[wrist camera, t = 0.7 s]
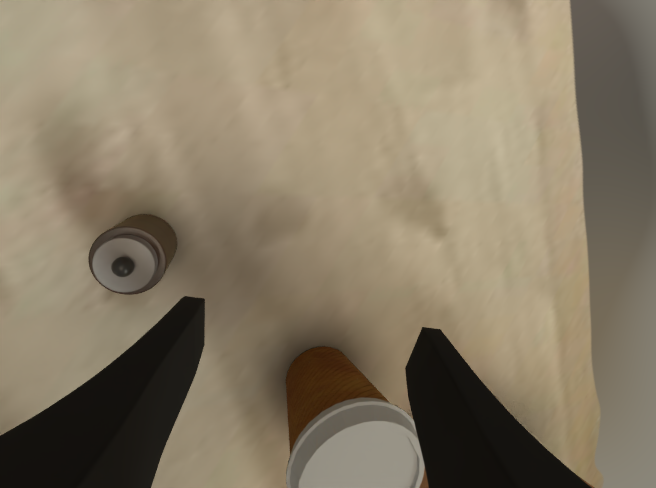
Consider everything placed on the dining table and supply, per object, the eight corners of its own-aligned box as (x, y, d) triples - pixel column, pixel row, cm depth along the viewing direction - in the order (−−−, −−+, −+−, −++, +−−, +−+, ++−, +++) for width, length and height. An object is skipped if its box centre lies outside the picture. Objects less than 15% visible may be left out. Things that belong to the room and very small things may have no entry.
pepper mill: (143, 281, 29) (117, 320, 22) (100, 238, 28) (57, 265, 20) (189, 246, 29) (178, 274, 22) (149, 202, 28) (123, 216, 21)
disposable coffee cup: (245, 389, 33) (256, 507, 22) (317, 309, 33) (365, 386, 22) (320, 439, 36) (363, 564, 25) (385, 366, 37) (457, 458, 25)
